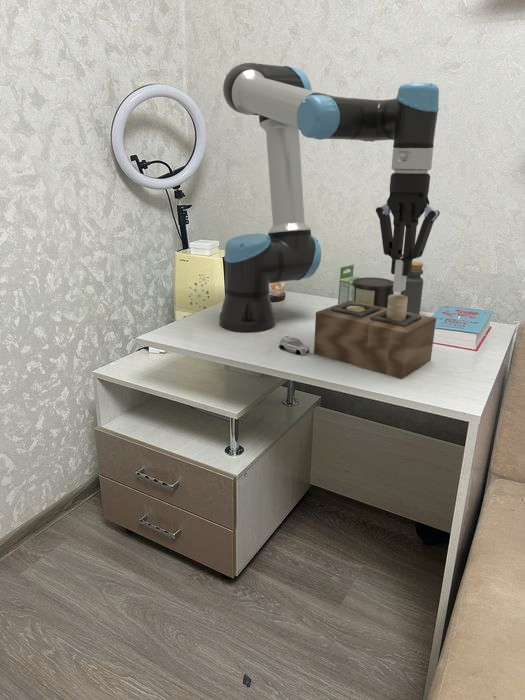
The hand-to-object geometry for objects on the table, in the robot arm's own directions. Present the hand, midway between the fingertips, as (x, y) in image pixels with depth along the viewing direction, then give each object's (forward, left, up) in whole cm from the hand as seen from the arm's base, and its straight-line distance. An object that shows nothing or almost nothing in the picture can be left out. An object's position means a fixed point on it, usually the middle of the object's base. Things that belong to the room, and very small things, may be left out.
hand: (399, 290), depth 111 cm
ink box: (-29, +29, -17) cm, 44 cm away
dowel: (0, 0, -10) cm, 10 cm away
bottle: (-14, +38, -17) cm, 44 cm away
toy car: (-21, -8, -17) cm, 28 cm away
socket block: (-5, 0, -16) cm, 17 cm away
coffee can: (-13, +13, -17) cm, 25 cm away
